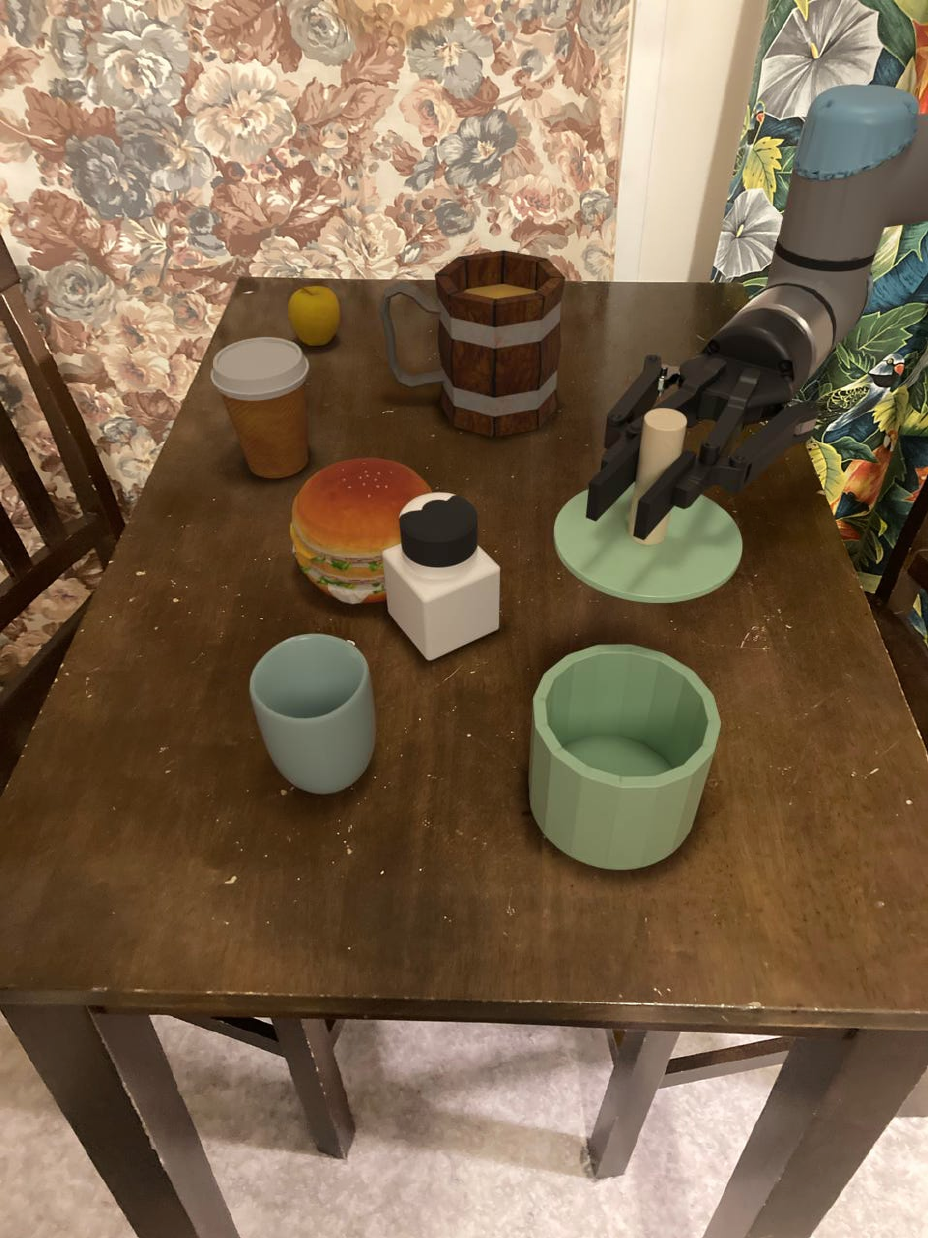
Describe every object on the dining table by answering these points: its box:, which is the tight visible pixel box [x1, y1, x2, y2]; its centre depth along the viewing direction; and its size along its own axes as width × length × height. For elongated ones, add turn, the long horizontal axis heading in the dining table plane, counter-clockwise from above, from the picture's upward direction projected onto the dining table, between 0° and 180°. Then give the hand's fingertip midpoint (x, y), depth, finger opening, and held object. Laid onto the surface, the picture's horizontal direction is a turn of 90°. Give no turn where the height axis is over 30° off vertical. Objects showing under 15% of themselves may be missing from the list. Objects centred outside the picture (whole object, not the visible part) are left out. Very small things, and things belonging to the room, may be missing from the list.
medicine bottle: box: [382, 491, 501, 661], centre depth 70 cm, size 7×7×12 cm
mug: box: [379, 249, 566, 438], centre depth 94 cm, size 20×14×15 cm
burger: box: [289, 457, 433, 605], centre depth 76 cm, size 13×14×10 cm
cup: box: [248, 633, 377, 795], centre depth 60 cm, size 8×8×10 cm
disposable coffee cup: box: [210, 336, 310, 479], centre depth 88 cm, size 10×10×12 cm
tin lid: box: [552, 408, 743, 604], centre depth 57 cm, size 13×13×10 cm
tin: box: [527, 643, 722, 871], centre depth 58 cm, size 12×12×10 cm
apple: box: [287, 285, 341, 347], centre depth 108 cm, size 6×6×8 cm
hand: (617, 510), depth 52 cm, fingers closed on tin lid, 3 cm apart
